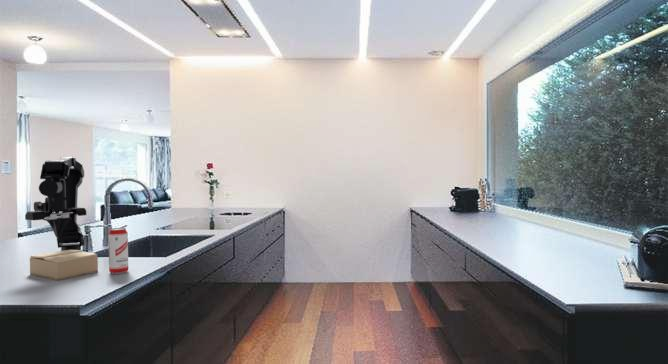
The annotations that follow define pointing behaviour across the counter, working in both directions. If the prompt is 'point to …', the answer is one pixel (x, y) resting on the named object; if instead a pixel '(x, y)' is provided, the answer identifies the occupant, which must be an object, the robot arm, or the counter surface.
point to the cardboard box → (63, 267)
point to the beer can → (118, 251)
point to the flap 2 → (70, 256)
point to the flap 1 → (55, 253)
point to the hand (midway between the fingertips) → (57, 237)
